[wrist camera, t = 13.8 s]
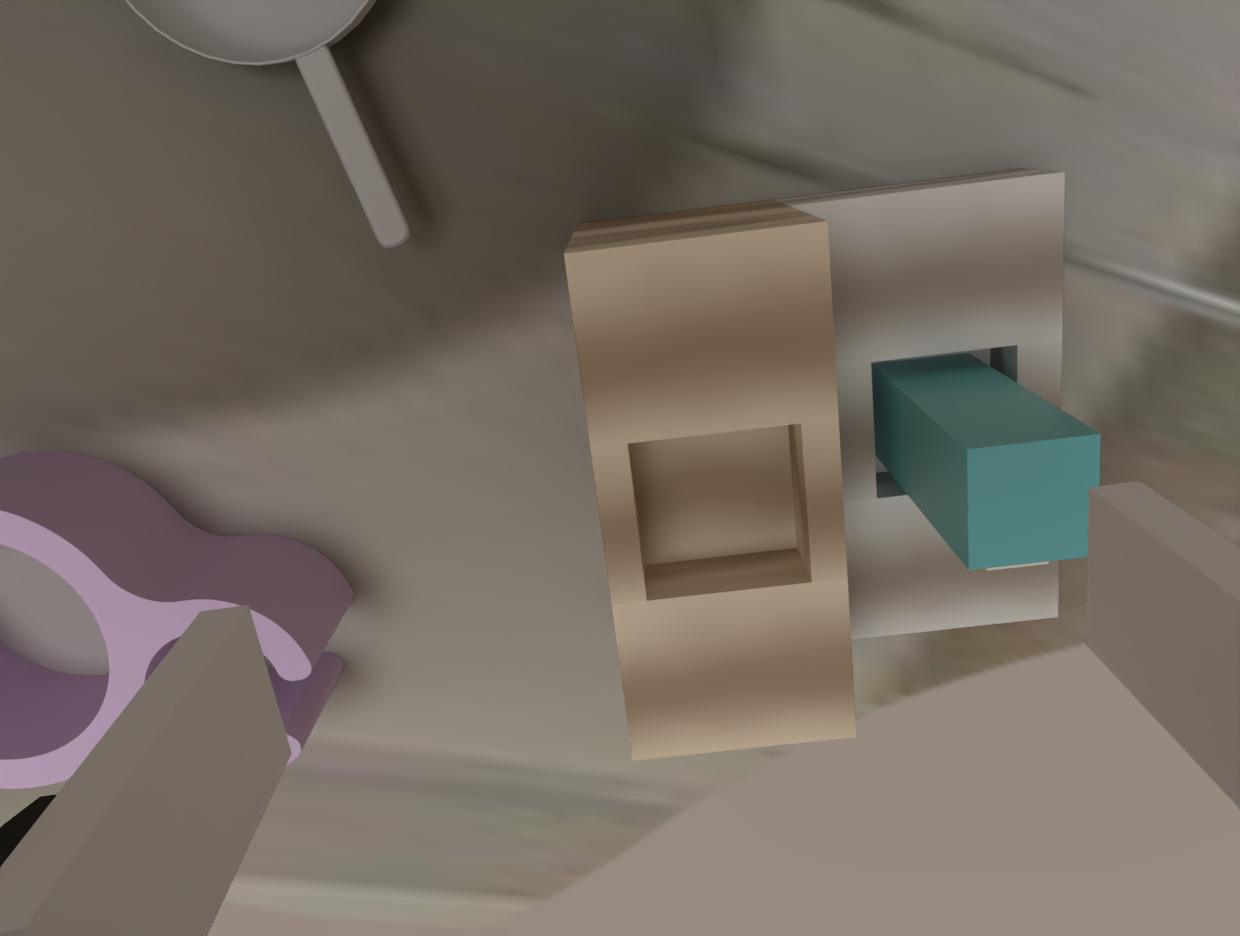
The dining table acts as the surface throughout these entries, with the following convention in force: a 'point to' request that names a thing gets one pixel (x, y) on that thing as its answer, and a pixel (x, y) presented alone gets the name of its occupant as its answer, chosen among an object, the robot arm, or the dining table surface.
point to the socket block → (793, 437)
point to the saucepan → (303, 32)
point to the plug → (986, 460)
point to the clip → (148, 605)
